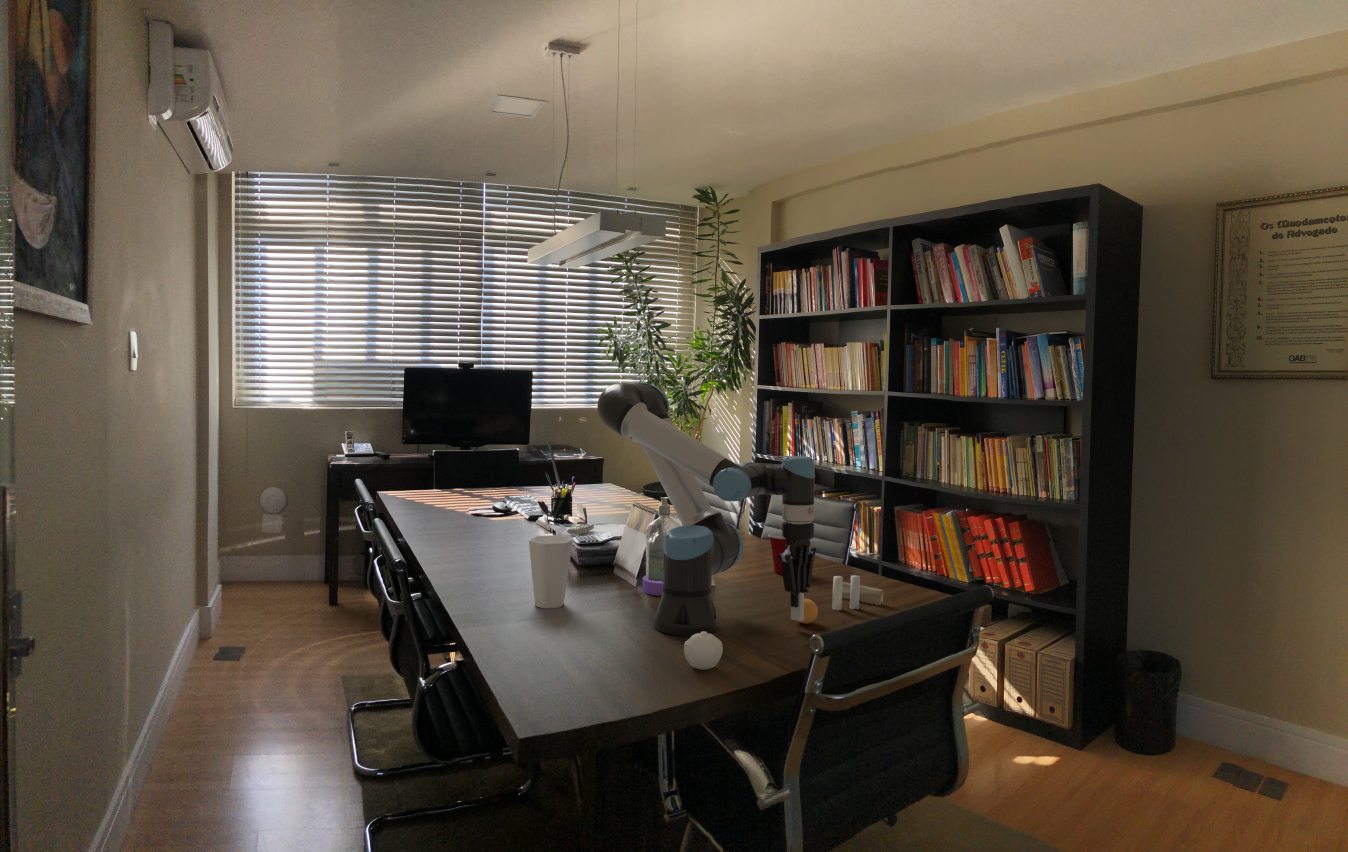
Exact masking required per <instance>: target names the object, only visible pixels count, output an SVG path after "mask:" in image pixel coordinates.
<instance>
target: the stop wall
mask: <svg viewBox="0 0 1348 852" xmlns="http://www.w3.org/2000/svg"><path fill="white" fill-rule="evenodd" d="M850 586H851V582H845V581H843V587H842V599H845V600H849V599H850ZM831 596H832V597H833V590H832V593H831ZM859 601H861V602H860V603H864V602H865V604H868V603H870V605H873V604H875V605H874V606H878V605H880V606H882V605H883V604H884V589H880V588H876V587H871V586H866V585H862V584H860V594H859ZM881 604H882V605H881Z"/></svg>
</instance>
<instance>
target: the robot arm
mask: <svg viewBox="0 0 1348 852" xmlns="http://www.w3.org/2000/svg"><path fill="white" fill-rule="evenodd" d="M596 407H597V413H598V416H599V419H600V420H601V421H602V423H603V424H605V426H607V427H608V428H609V429H611V430H612V431H613V432H615V433H616V434H619V435H620V436H622V437H624V438H625V439H627V438H628V439H629V438H630V439H631V441H632V442H634V443H637V444H640V446H641V448H642V449H643V451H644V453H645V456H646V457H647V459H648V461H649V463H650V465H651V467H652V469H653V471H654V473H655V474H656V476H657V479H658V480H659V482H660V485H661V486H662V488H663V490H664V491H665V494H666V495H667V498H668V499H669V502H670V503H671V505H672V508H673V509H674V511H675V513H676V515H677V517H678V519H679V521H680V523H681V526H676V527H673V528H671V529H669V530H668V531H667V532H666V534H665V536H664V542H663V546H662V551H663V555H662V556H663V559H662V560H663V562H662V563H663V564H662V573H663V593H662V596H661V597H660V600H659V603H658V606H657V610H656V613H655V615H654V620H653V621H654V623H653V624H654V625H653V626H654V628H655V629H656V630H657V631H659V632H661V633H664V634H668V635H673V636H681V637H691V636H693V635H694V634H697V633H699V634H700V633H701V632H702V631H705V632H707V633H708V634H713V633H714V632H716V631H717V630H718V628H719V627H718V622H719V621H718V619H719V618H718V615H717V612H716V609H715V605H714V601H713V598H712V581H713V577H712V576H714V575H716V574H719V573H721V572H726V571H727V570H729V569H731V568H732V567H733V566H735V565H736V564H737V563H738V562H739V560H740V559H741V556H742V555H743V550H744V540H743V537H742V534H741V532H740V531H739V530H738V528H736V526H735V525H733V524H731V523H728V522H726V519H725V518H724V516H723V514H722V513H721V511H720V510H716V509H714V508H712V506H711V504H710V503H709V502H710V501H708V498H707V497H706V495H705V493H704V491H703V490H702V487H701V486H700V483H699V482H698V480H701V481H702V482H704V483H705V484H706V485H709V486H710V487H712V488H713V491H714V493H715V494H716V495H717V497H718V498H719V499H721V500H723V501H724V502H739V501H742V500H744V499H749V498H752V497H756V496H760V495H770V496H781V498H782V503H781V504H782V506H781V509H782V510H781V513H782V514H781V519H782V520H783V522H782V523H781V529H782V531H781V534H782V536H783V537H784V538H785V539H786V545H785V552H784V553H780V554H779V559H780V561H781V565H782V573H783V575H782V578H783V586H784V591H785V592H787V593H790V620H793V621H798V622H799V621H802V620H804V599H805V593H809V589H810V587H811V582H812V574H813V565H814V561H815V556H816V553H817V547H813V546H812V545H811V540H812V539H814V537H815V523H814V522H813V521H814V520H815V487H816V486H815V484H816V483H815V481H816V479H815V478H816V474H815V473H816V472H815V460H814V459H813V458H812V457H811V456H803V455H799V456H798V455H789V456H787V455H786V456H784V457H783V458H782V463H777V464H776V463H761V462H755V461H750V462H740V463H738V464H737V463H736V462H734V461H732V460H730V459H728V458H727V457H726V456H724V455H722V454H721V453H720V452H717V450H714V449H713V448H711V447H709V446H707V445H706V444H704V443H702V442H700V441H699V440H698V439H696V438H694V437H692V436H691V435H689V434H687V433H685V432H684V431H682V430H681V429H679V428H677V426H674V425H673V424H672V419H671V417H670V416H669V413H670V411H669V410H670V402H669V399H668V396H667V395H666V393H665V392H664V391H663V390H662V389H661V388H660V387H658V386H656V385H654V384H649V383H646V382H639V383H625V382H620V383H619V382H618V383H614V384H613V383H612V384H610V385H609V386H608V387H606V388H605V389H604V390H603V391H602V392H601V394H600V395H599V397H598V400H597V406H596ZM696 478H697V479H698V480H697V479H696Z"/></svg>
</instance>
